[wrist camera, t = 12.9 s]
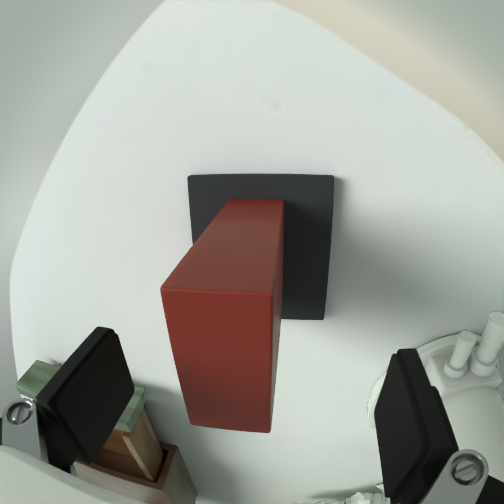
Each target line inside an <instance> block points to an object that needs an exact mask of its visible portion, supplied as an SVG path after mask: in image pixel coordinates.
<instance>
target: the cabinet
mask: <svg viewBox="0 0 504 504" xmlns="http://www.w3.org/2000/svg"><path fill="white" fill-rule="evenodd" d="M159 444H160V446H161V449H162V451H163V453H164V455H165V457H166V460H165V462H164V465H163V468H162V471H161V473H160V476H159V479H158V482H157V483H155V482H152V481H148V480H144V479H140V478H137V477H133V476H130V475H127V474H124V473H120V472H117V471H114V470H111V469H108V468H105V467H103V466H100V465H97V464H94V463H92V462H91V463H90V465H87V464H84V463H82V462H80V461H78V460H77V459H76V460H75V462H74V467H75V471H76V475H77V478H80V479H82V480H84V481H87V482H89V483H91V484H94V485H96V486H98V487H101V488H103V489H106V490H109V491H111V492H114V493H117V494H119V495H122V496H125V497H128V498H131V499H134V500H137V501H140V502H143V503H147V504H195V502H196V498H197V492H196V490H195V487H194V485H193V483H192V481H191V478H190V476H189V474H188V471H187V469H186V467H185V464H184V462H183V459H182V457H181V454H180V452H179V449H178V447H177V446H174V445H169V444H164V443H159Z"/></svg>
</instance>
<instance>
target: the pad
mask: <svg viewBox="0 0 504 504" xmlns="http://www.w3.org/2000/svg"><path fill="white" fill-rule="evenodd" d="M188 192H189V206H190V218H191V230H192V240H193V244H194V243H195V242H196V241H197V239H198V238H199V237H200V236H201V234H202V233H203V232H204V230H205V229H206V228H207V227H208V225H209V224H210V223H211V222H212V220H213V219H214V218H215V217H216V216H217V214H218V213H219V212H220V211H221V209H222V208H223V207H224V206H225V204H226V203H227V202H228V201H229V200H230V199H269V200H284V257H283V298H282V312H281V319H299V320H323V319H324V311H325V302H326V292H327V282H328V271H329V259H330V246H331V231H332V214H333V194H334V177H333V176H332V175H310V174H209V175H190V176H188Z"/></svg>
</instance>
